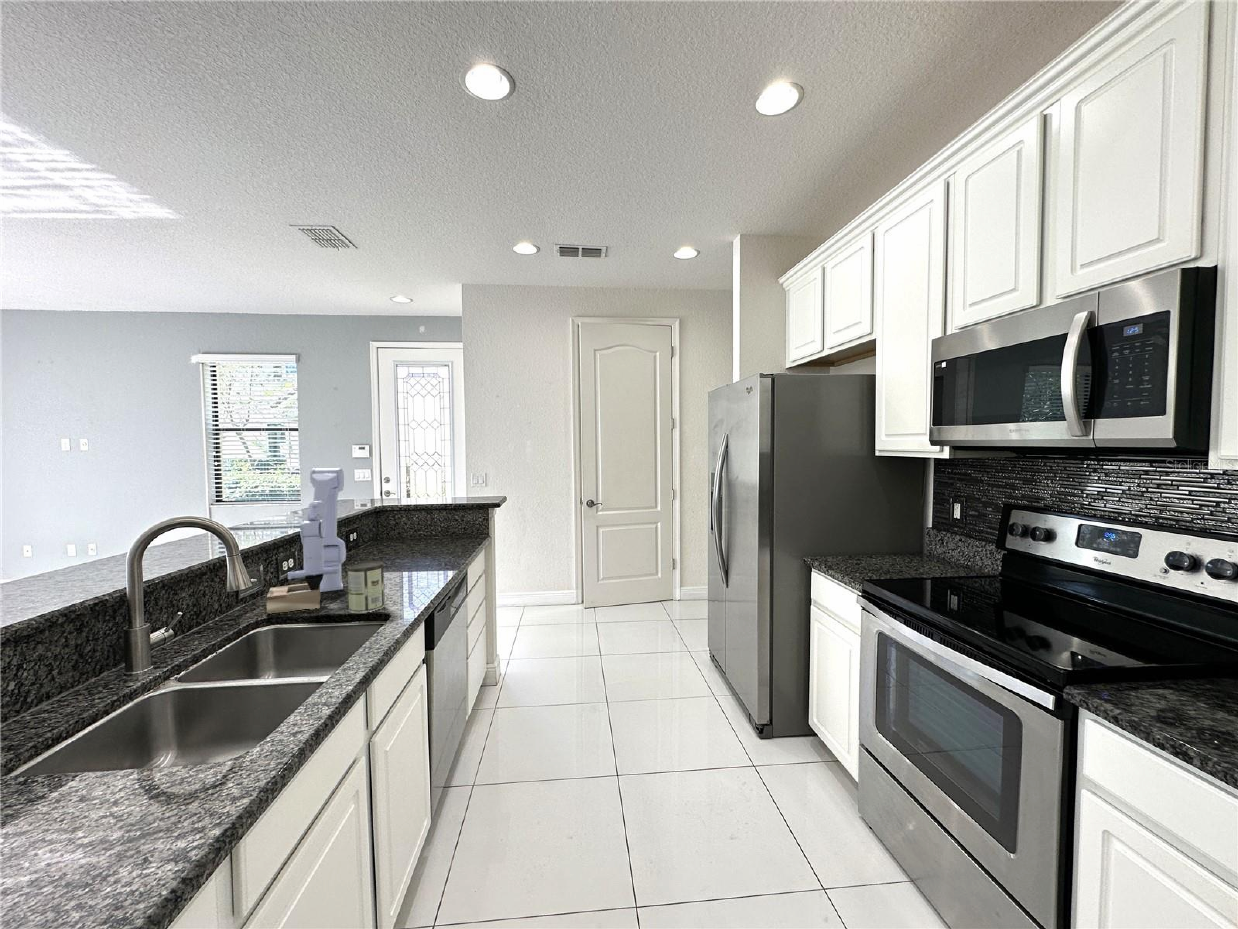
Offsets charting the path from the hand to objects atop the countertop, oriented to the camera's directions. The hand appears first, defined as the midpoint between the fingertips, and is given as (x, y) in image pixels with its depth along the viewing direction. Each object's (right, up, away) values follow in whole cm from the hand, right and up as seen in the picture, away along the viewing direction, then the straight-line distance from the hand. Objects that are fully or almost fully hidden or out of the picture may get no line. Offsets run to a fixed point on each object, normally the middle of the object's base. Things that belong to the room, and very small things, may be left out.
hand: (314, 598), depth 171 cm
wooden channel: (-5, -2, -3) cm, 6 cm away
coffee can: (+20, -2, -6) cm, 21 cm away
